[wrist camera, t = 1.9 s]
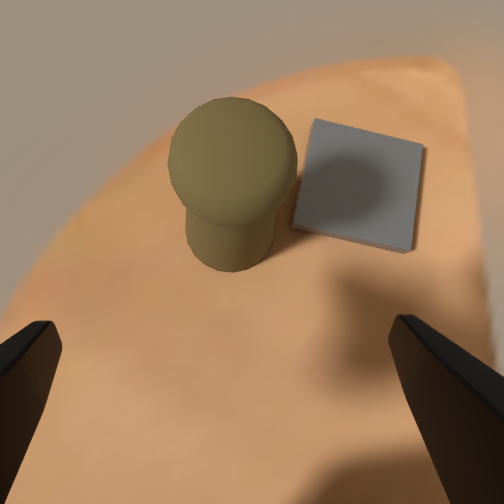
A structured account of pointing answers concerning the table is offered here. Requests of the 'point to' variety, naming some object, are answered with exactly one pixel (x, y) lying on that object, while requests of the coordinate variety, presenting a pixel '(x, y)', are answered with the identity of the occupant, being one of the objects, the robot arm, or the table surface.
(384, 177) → the coaster
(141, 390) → the table surface
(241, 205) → the cork
